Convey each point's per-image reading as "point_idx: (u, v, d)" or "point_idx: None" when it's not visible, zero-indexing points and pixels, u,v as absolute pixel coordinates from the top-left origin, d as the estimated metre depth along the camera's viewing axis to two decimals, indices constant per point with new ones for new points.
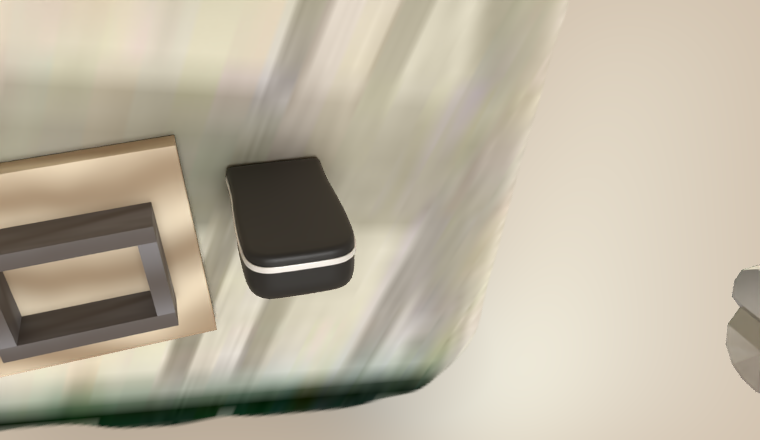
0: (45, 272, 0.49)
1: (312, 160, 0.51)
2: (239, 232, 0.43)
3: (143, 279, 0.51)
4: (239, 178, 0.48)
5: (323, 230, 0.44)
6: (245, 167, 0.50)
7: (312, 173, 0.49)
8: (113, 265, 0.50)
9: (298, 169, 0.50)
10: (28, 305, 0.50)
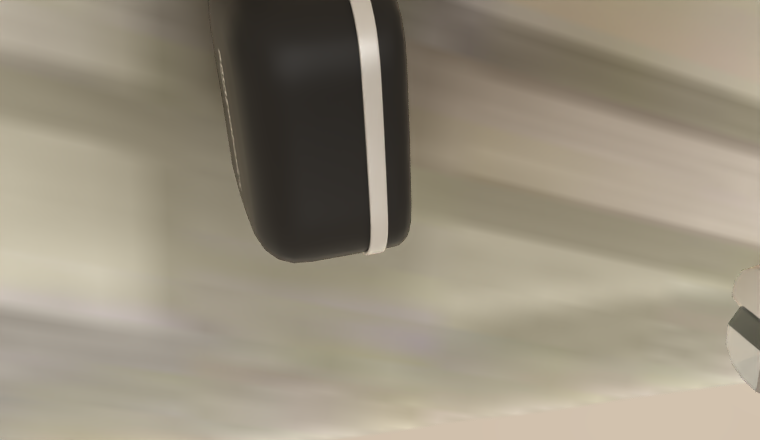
0: None
1: None
2: None
3: None
4: None
5: None
6: None
7: None
8: None
9: None
10: None
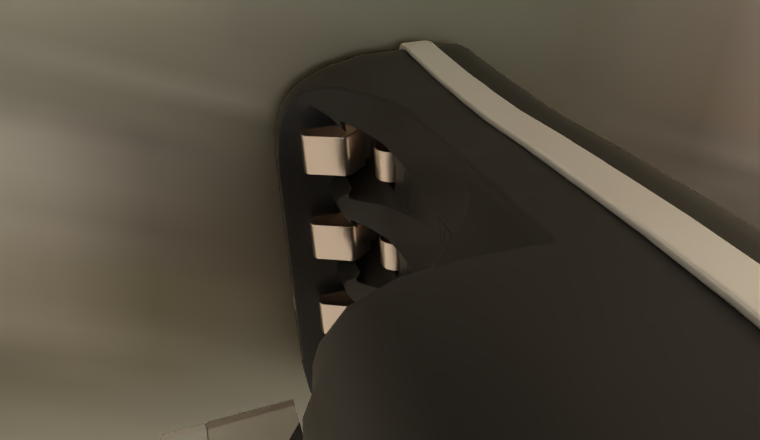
0: None
1: None
2: None
3: None
4: None
5: None
6: None
7: None
8: None
9: None
10: None
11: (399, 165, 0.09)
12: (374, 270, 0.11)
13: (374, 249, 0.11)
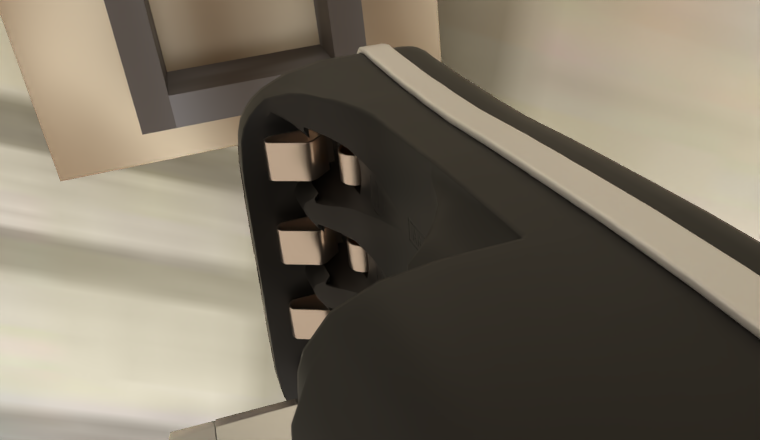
0: None
1: None
2: None
3: (191, 51, 0.28)
4: None
5: None
6: None
7: None
8: None
9: None
10: None
11: (364, 168, 0.09)
12: (343, 273, 0.11)
13: (342, 252, 0.11)
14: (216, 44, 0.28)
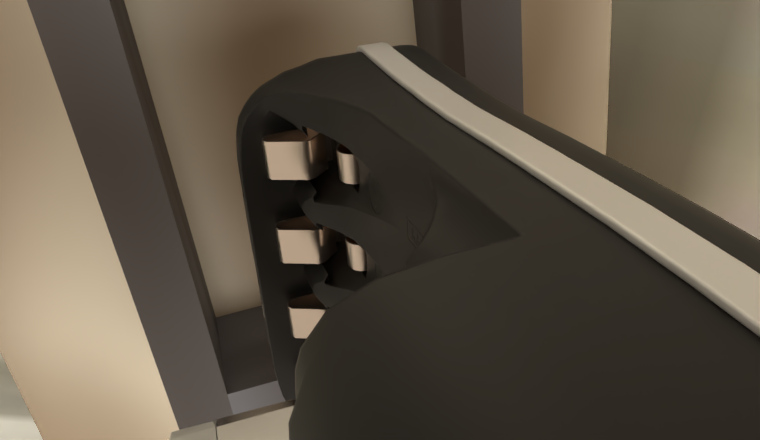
0: (295, 39, 0.16)
1: None
2: None
3: (252, 287, 0.18)
4: None
5: None
6: None
7: None
8: None
9: None
10: None
11: (363, 167, 0.09)
12: (342, 272, 0.11)
13: (340, 251, 0.11)
14: None
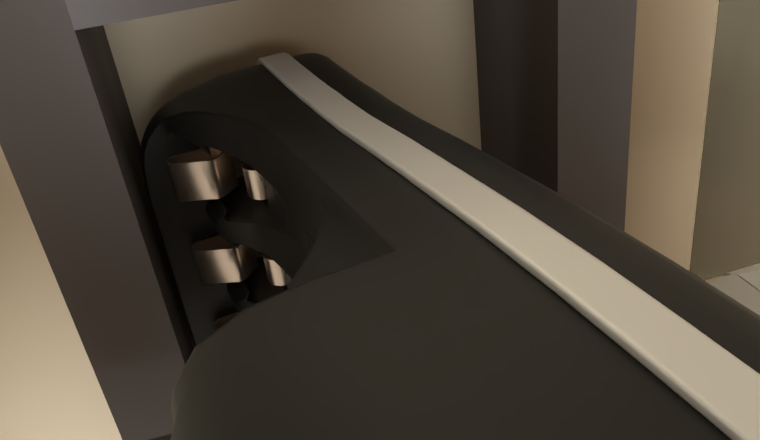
0: None
1: None
2: (736, 306, 0.05)
3: None
4: None
5: None
6: None
7: None
8: None
9: None
10: (158, 19, 0.11)
11: (267, 182, 0.09)
12: (264, 288, 0.11)
13: (262, 266, 0.11)
14: None
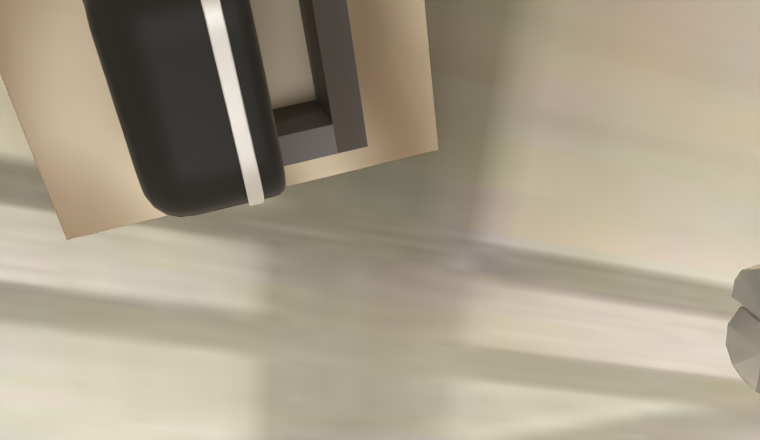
0: None
1: None
2: None
3: None
4: None
5: None
6: None
7: None
8: None
9: None
10: None
11: None
12: None
13: None
14: None
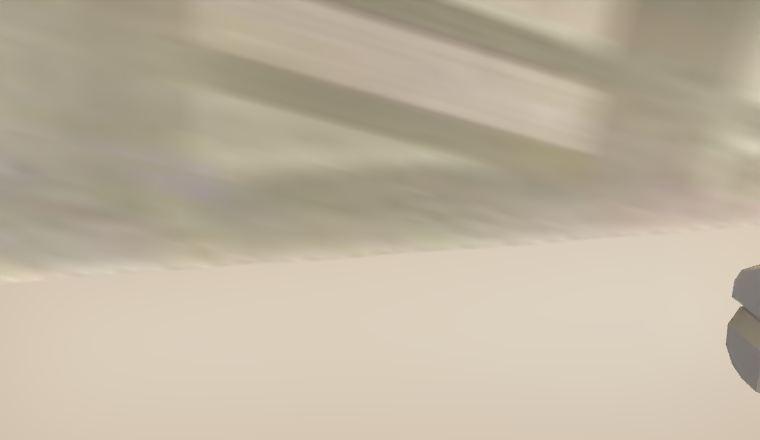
0: None
1: None
2: None
3: None
4: None
5: None
6: None
7: None
8: None
9: None
10: None
11: None
12: None
13: None
14: None
